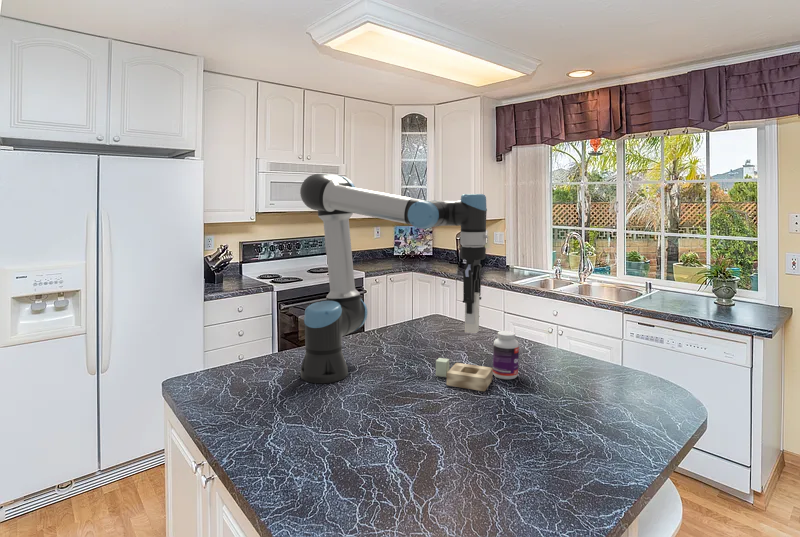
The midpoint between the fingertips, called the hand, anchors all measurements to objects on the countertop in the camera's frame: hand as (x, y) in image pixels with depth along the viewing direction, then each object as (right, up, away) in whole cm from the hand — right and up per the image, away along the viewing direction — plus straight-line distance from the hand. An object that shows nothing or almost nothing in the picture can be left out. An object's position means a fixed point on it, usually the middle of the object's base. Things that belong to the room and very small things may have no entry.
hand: (471, 321), depth 147 cm
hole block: (0, -19, +3) cm, 19 cm away
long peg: (0, -3, 0) cm, 3 cm away
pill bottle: (+12, -19, +9) cm, 24 cm away
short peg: (-8, -18, +10) cm, 22 cm away
